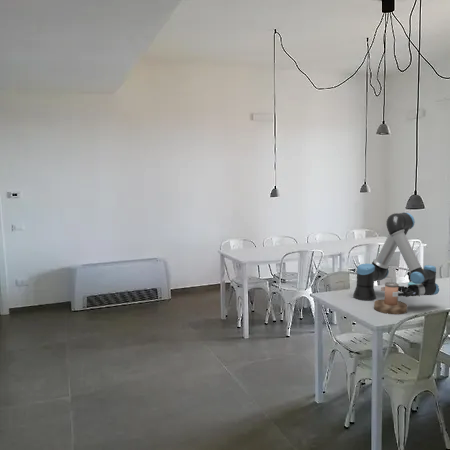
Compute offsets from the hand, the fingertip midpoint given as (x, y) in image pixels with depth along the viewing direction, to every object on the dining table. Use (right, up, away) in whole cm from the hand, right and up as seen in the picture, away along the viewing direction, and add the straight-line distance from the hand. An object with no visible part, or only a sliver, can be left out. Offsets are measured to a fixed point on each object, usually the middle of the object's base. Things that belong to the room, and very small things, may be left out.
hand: (386, 291), depth 308 cm
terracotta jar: (+3, -8, +2) cm, 9 cm away
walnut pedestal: (+3, -12, +2) cm, 12 cm away
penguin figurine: (+48, -5, +65) cm, 81 cm away
